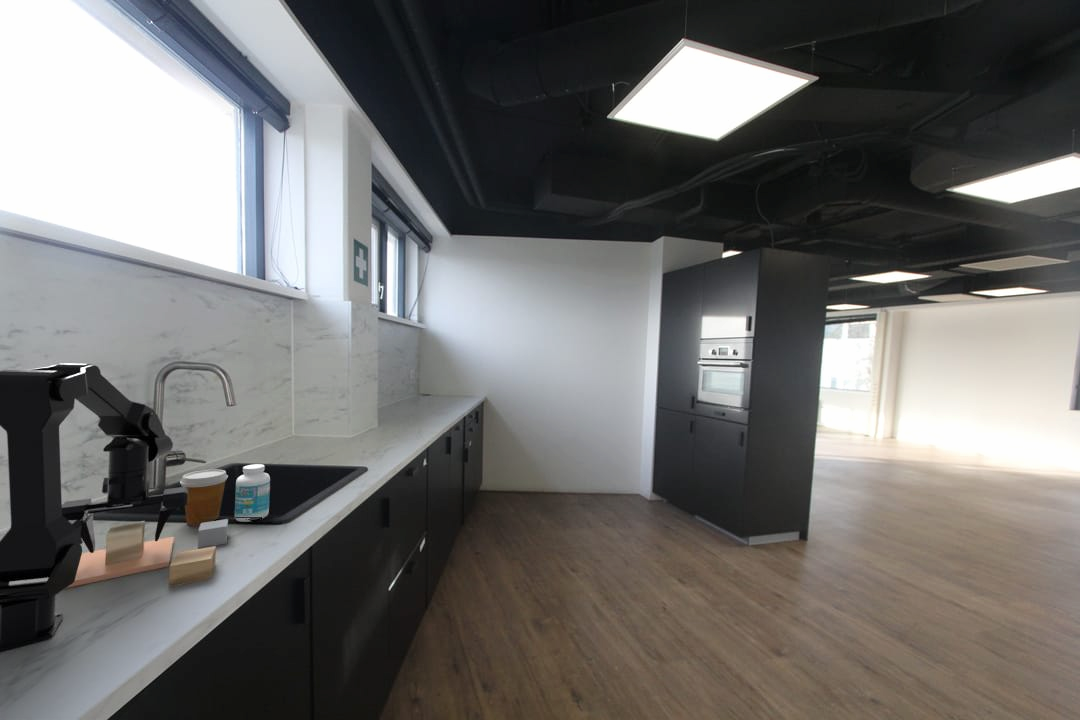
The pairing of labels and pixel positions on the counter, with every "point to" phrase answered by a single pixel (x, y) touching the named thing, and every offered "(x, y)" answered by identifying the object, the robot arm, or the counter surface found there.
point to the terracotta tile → (96, 570)
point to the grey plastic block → (212, 533)
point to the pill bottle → (252, 493)
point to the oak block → (192, 566)
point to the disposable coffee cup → (203, 495)
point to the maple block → (125, 542)
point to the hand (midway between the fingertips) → (125, 546)
